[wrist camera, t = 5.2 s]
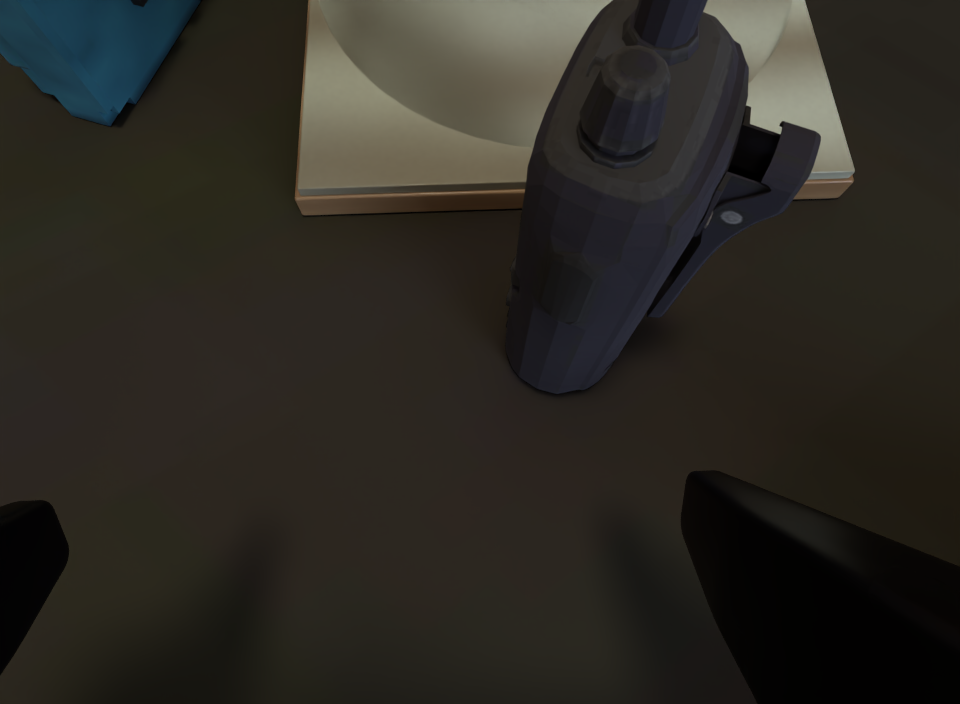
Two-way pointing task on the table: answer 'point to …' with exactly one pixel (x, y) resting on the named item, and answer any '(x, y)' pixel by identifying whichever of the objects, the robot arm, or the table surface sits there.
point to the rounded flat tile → (501, 97)
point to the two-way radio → (637, 185)
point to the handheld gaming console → (91, 48)
